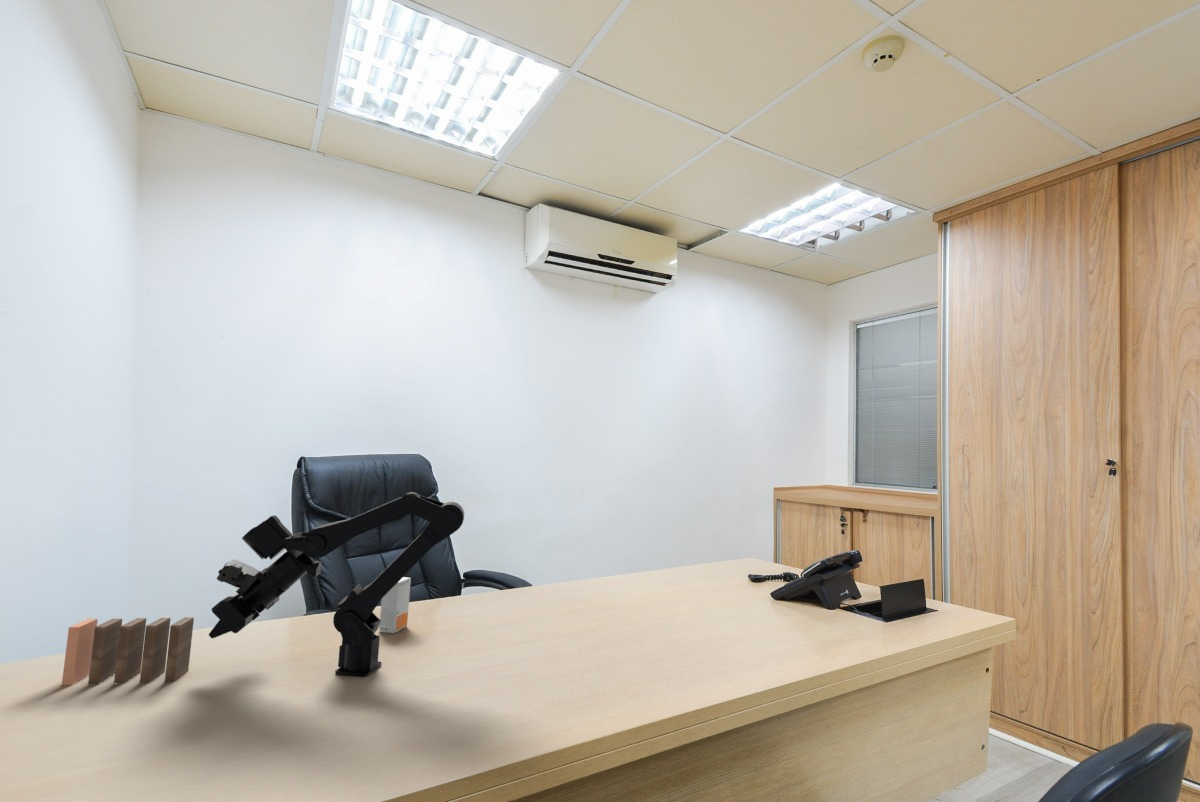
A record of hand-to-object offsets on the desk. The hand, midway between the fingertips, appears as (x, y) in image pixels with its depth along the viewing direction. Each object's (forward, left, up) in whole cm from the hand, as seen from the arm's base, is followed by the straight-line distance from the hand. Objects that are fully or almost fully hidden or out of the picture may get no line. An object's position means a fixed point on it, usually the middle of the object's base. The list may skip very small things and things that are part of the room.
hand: (211, 636), depth 107 cm
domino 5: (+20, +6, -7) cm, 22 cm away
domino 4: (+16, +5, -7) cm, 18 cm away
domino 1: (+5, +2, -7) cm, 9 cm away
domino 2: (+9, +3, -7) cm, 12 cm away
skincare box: (-21, -33, -7) cm, 40 cm away
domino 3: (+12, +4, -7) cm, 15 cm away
